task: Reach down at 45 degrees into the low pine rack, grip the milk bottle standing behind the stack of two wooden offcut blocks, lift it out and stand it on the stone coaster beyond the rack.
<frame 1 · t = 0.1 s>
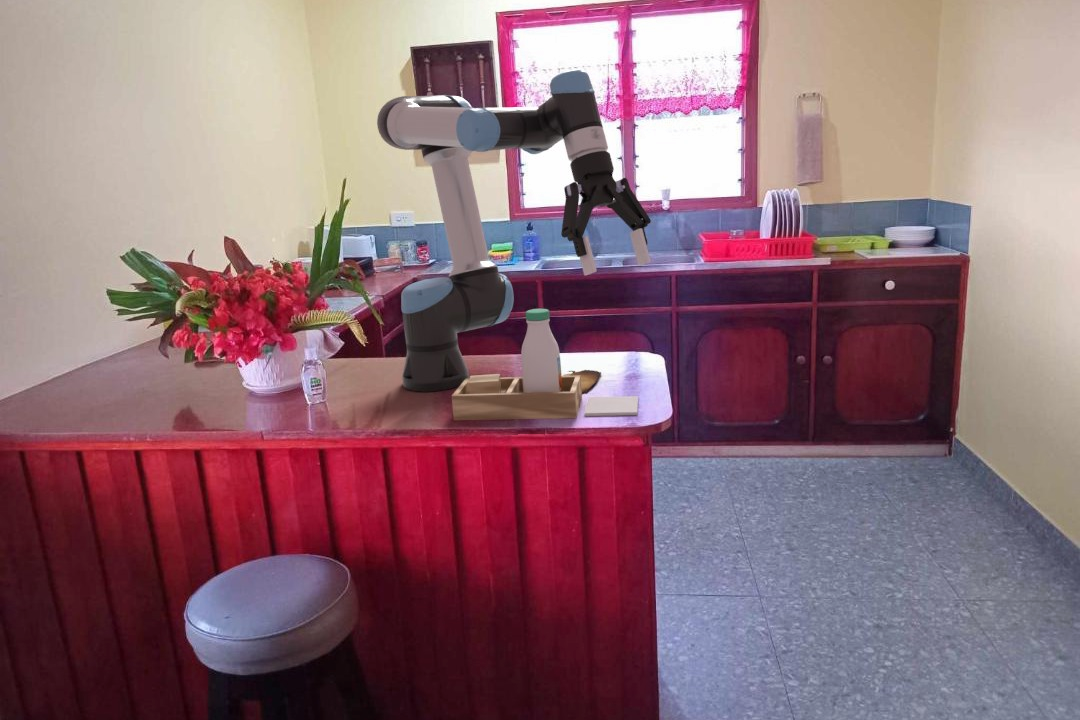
hand: (618, 268, 144), 28 cm above the countertop, tool tilted 20°, fingers open, 13 cm apart
coaster: (612, 407, 155), on the countertop
milk bottle: (544, 409, 157), resting in rack
offcut top: (485, 394, 158), point 3 cm above the countertop
parchment: (572, 388, 171), on the countertop
rack: (519, 409, 157), on the countertop
offcut low: (487, 411, 159), resting in rack
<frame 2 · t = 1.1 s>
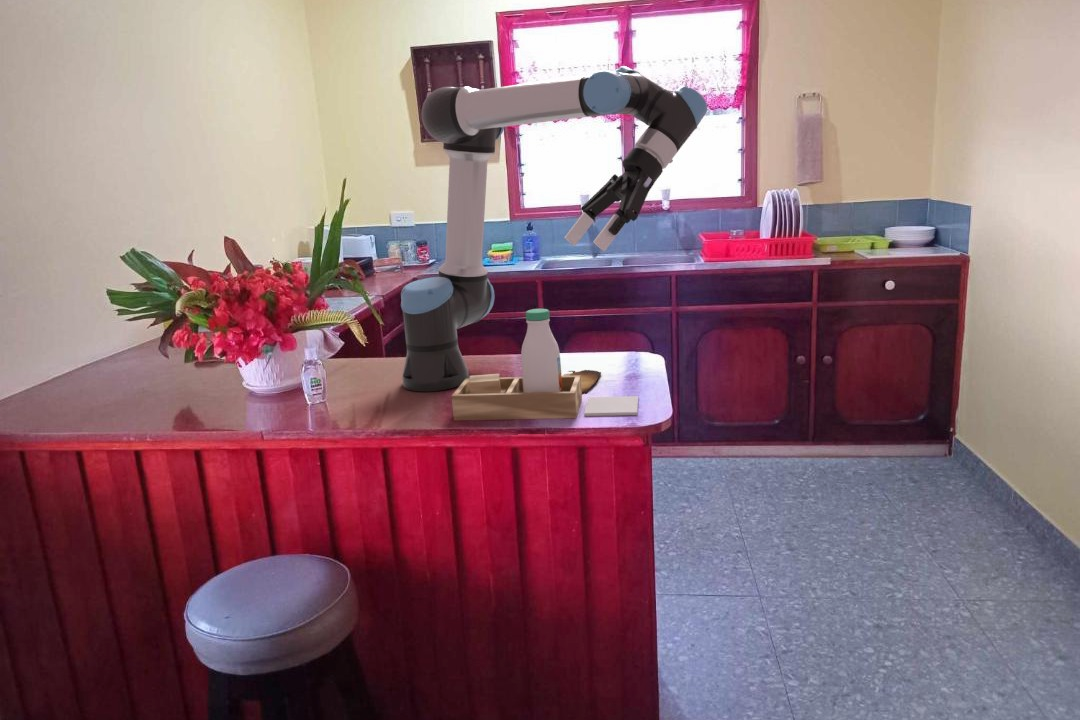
hand: (583, 244, 152), 32 cm above the countertop, tool tilted 45°, fingers open, 13 cm apart
offcut top: (485, 394, 158), point 3 cm above the countertop, touching offcut low
offcut low: (487, 411, 159), resting in rack, touching offcut top
everything else where it was.
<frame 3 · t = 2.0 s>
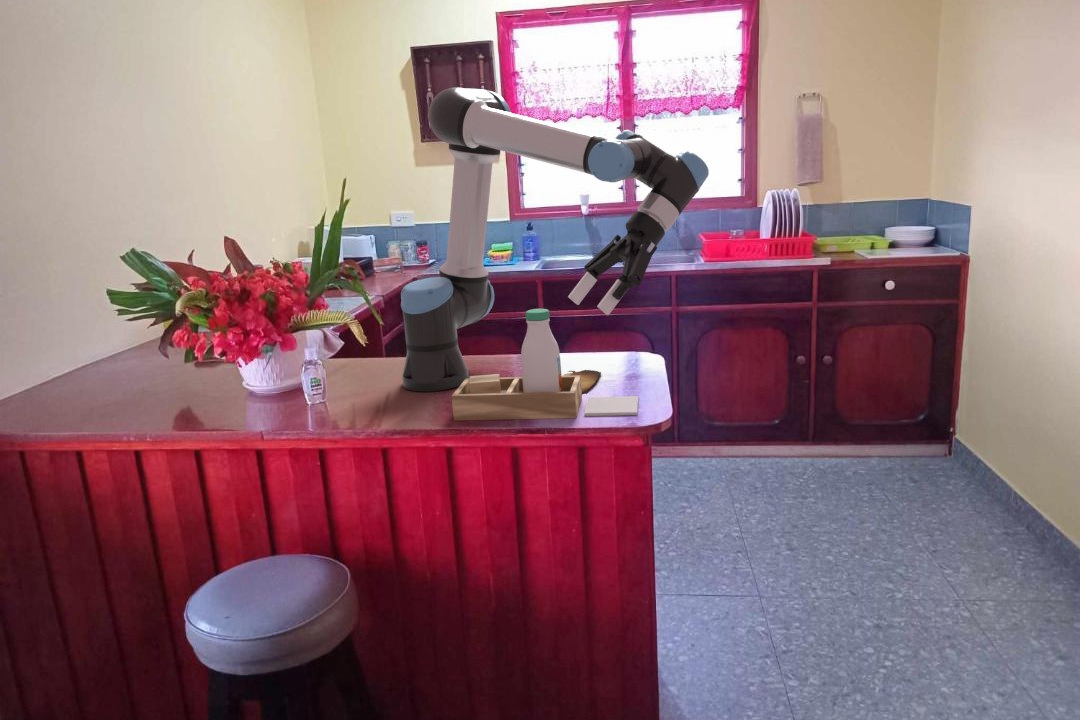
hand: (587, 305, 155), 19 cm above the countertop, tool tilted 45°, fingers open, 13 cm apart
offcut top: (485, 395, 158), point 3 cm above the countertop
offcut low: (488, 411, 159), resting in rack
everything else where it was.
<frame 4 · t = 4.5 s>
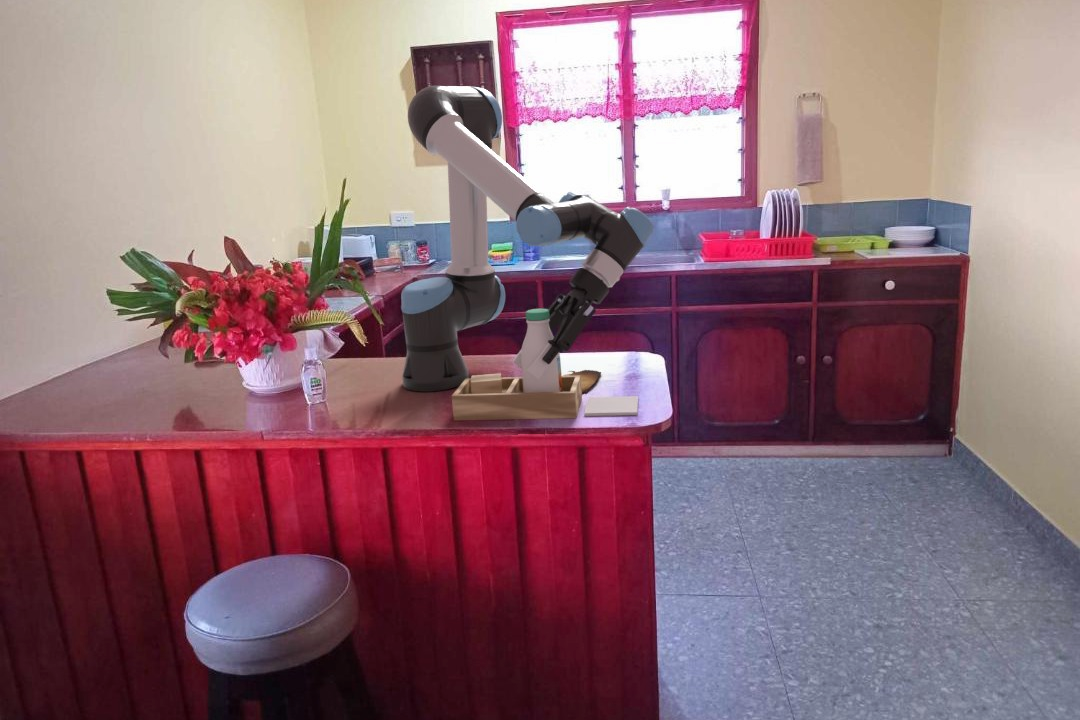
hand: (525, 370, 153), 9 cm above the countertop, tool tilted 45°, fingers closed on milk bottle, 8 cm apart
milk bottle: (544, 409, 157), resting in rack, touching gripper
offcut top: (487, 394, 158), point 3 cm above the countertop, touching offcut low
offcut low: (489, 411, 159), resting in rack, touching offcut top
everything else where it was.
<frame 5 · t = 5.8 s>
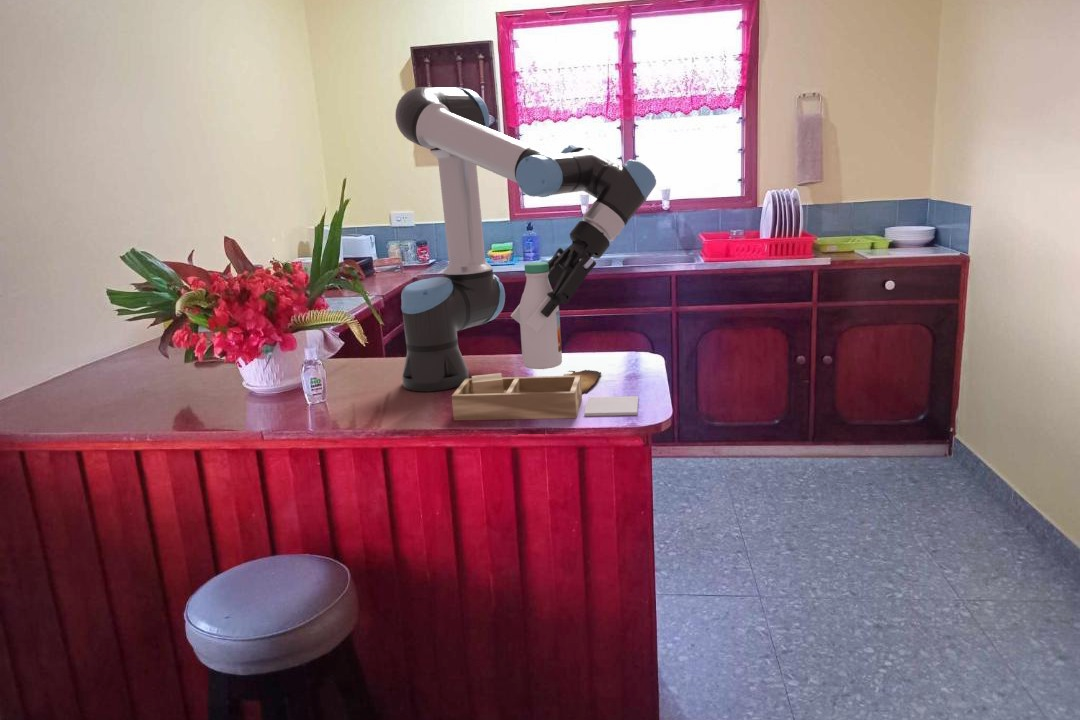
hand: (523, 324, 151), 18 cm above the countertop, tool tilted 45°, fingers closed on milk bottle, 8 cm apart
milk bottle: (542, 365, 154), point 9 cm above the countertop, touching gripper
offcut top: (488, 394, 158), point 3 cm above the countertop
offcut low: (490, 411, 159), resting in rack
everything else where it was.
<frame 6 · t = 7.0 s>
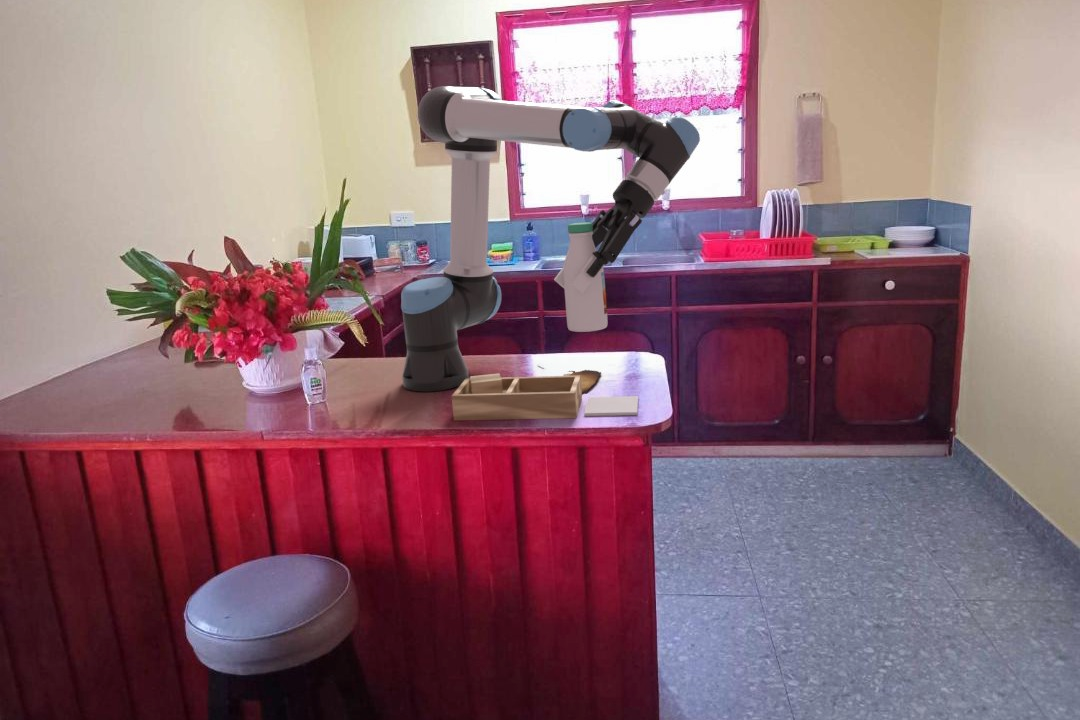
hand: (568, 286, 147), 25 cm above the countertop, tool tilted 45°, fingers closed on milk bottle, 8 cm apart
milk bottle: (587, 329, 151), point 16 cm above the countertop, touching gripper
everything else where it was.
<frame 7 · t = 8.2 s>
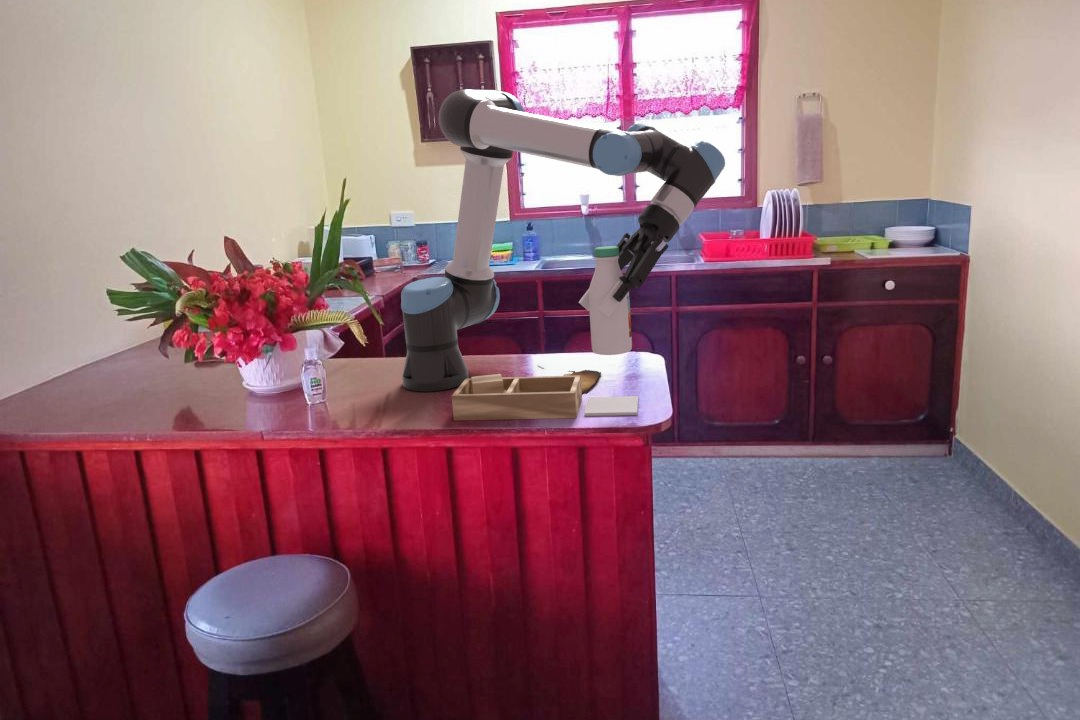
hand: (593, 309, 148), 20 cm above the countertop, tool tilted 45°, fingers closed on milk bottle, 8 cm apart
milk bottle: (612, 352, 151), point 11 cm above the countertop, touching gripper
offcut top: (488, 395, 157), point 3 cm above the countertop, touching offcut low
offcut low: (491, 411, 158), resting in rack, touching offcut top
everything else where it was.
when the fingers open (10 cm above the countertop, at t = 10.3 s): milk bottle stays where it is, resting on coaster.
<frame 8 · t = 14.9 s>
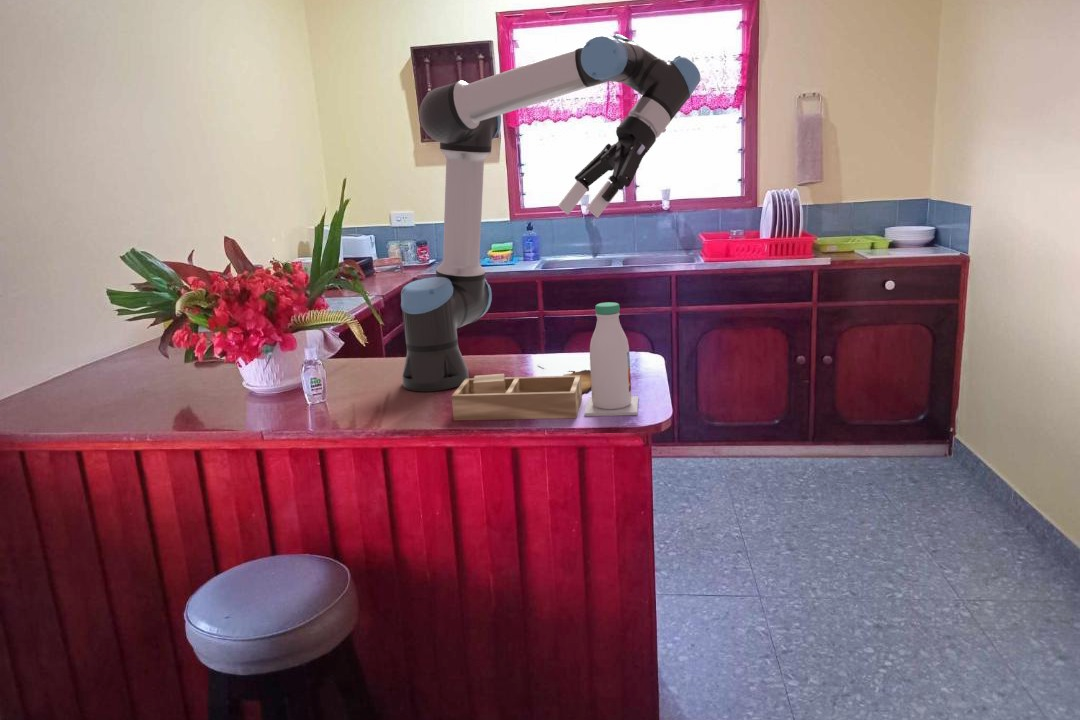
hand: (577, 211, 153), 38 cm above the countertop, tool tilted 45°, fingers open, 13 cm apart
milk bottle: (612, 405, 155), resting on coaster
everything else where it was.
at the end: milk bottle 0.1 cm from the coaster (horizontally); milk bottle tilted 0°; the gripper is holding nothing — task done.
